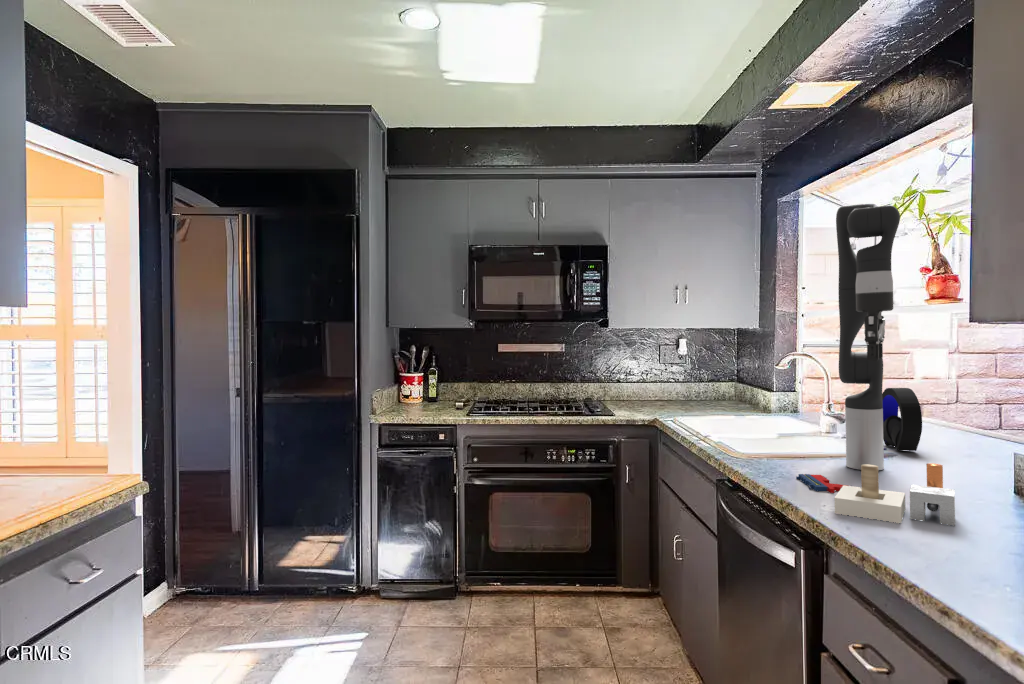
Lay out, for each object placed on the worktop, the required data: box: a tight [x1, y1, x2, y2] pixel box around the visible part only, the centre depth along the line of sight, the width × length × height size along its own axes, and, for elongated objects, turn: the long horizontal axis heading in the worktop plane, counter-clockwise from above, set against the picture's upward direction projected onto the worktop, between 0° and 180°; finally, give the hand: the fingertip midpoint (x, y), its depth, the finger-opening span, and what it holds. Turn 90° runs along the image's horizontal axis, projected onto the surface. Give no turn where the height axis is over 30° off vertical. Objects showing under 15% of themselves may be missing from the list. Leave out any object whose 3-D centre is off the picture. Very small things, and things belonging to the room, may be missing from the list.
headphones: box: [882, 387, 923, 452], centre depth 186 cm, size 18×7×20 cm, turn 167°
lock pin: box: [926, 462, 944, 512], centre depth 127 cm, size 3×16×8 cm, turn 142°
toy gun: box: [795, 473, 850, 494], centre depth 147 cm, size 15×2×10 cm
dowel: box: [860, 464, 880, 500], centre depth 126 cm, size 3×3×10 cm
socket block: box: [834, 484, 906, 524], centre depth 126 cm, size 12×12×4 cm
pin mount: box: [909, 484, 956, 527], centre depth 120 cm, size 7×6×6 cm
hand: (875, 359), depth 136 cm, fingers open, 8 cm apart
